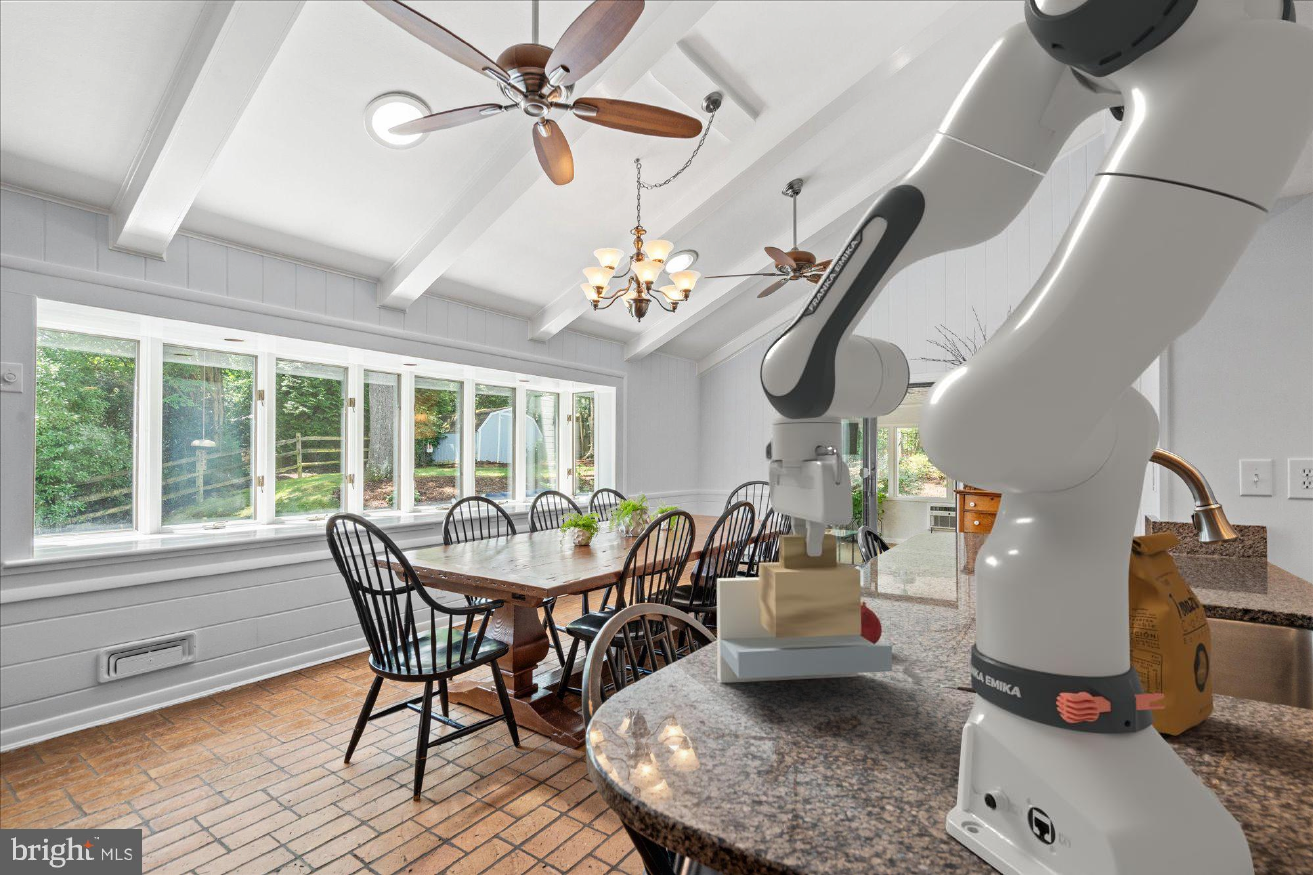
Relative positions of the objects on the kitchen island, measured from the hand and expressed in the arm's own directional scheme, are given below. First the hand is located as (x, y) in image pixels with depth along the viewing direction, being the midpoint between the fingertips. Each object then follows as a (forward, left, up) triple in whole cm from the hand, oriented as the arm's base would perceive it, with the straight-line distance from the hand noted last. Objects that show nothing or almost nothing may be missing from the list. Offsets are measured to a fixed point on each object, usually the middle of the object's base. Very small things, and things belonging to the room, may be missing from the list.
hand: (808, 553), depth 81 cm
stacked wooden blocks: (0, 0, -10) cm, 10 cm away
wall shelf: (+3, 0, -19) cm, 19 cm away
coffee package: (-12, -38, -19) cm, 44 cm away
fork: (0, -22, -19) cm, 29 cm away
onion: (+18, -16, -19) cm, 31 cm away
